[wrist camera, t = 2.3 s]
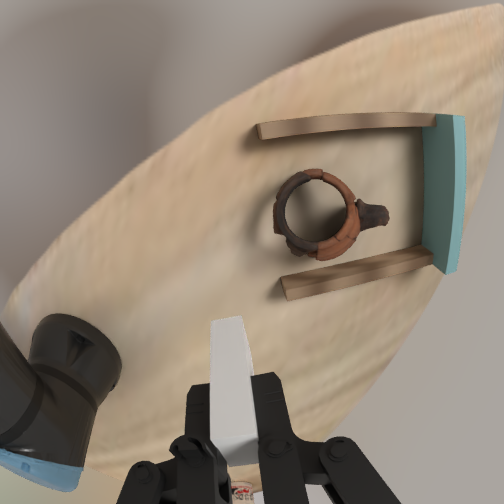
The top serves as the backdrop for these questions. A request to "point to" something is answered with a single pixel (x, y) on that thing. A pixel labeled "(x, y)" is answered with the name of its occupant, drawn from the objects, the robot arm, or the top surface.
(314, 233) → the top surface
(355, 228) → the pottery mug
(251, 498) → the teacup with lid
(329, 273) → the channel
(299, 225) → the top surface
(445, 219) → the end stop
